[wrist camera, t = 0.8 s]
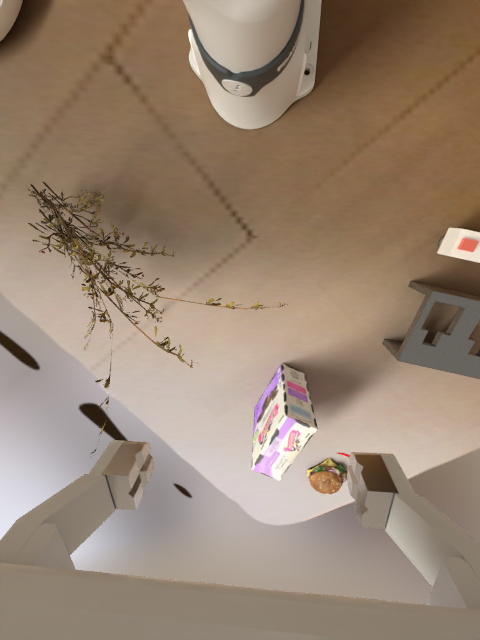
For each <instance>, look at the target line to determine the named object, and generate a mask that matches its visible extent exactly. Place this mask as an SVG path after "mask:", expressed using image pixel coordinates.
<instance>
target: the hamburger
mask: <svg viewBox="0 0 480 640" xmlns="http://www.w3.org/2000/svg"><path fill="white" fill-rule="evenodd" d="M338 454H342V455H345V456H347V457H349V458H350V455H348V454H345V453H338ZM329 460H330V461H329ZM327 461H328V462H329V463H327ZM346 474H347V471H346V472H345V469H344V467H343V466H341V465H338V466H337V465H336V464H335V463H334V462H332V460H331V459H330V458H328V459H327V460H325V461H324V462H323V463H322V464H320V465H318V466H316V467H314V468H313V469H311V470H307V476H308V478H309V479H310V483H311V486H312V487H313V488H314V489H315V490H316V491H318V492H320V493H324V494H332V493H335V492H337V491H338V490H339V488H340V487H341V486H342V483H343V482H345V480H346ZM344 476H345V477H344Z"/></svg>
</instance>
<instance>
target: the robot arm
mask: <svg viewBox="0 0 480 640" xmlns="http://www.w3.org/2000/svg"><path fill="white" fill-rule="evenodd" d="M183 2H184V4H185V6H186V8H187V10H188V12H189V20H190V25H191V29H190V30H189V40H190V44H191V49H190V53H189V61H190V65H191V67H192V69H193V71H194V72H195V73H196V75H197V76H198V77H199V78H200V79H201V80H202V81H203V83H204V85H205V88H206V91H207V94H208V96H209V99H210V101H211V103H212V105H213V107H214V108H215V110H216V111H217V112H218V114H219V115H220V116H221V117H222V118H223V119H224V120H226V121H227V122H228V123H230V124H232V125H234V126H236V127H239V128H243V129H258V128H262V127H265V126H267V125H269V124H271V123H273V122H274V121H275V120H277V119H278V118H279V117H280V116H281V115H282V114H283V113H284V112H285V111H286V110H287V109H288V107H289V106H290V105H291V104H292V103H293V102H294V101H296V100H298V99H300V98H302V97H304V96H306V95H307V94H309V93H310V92H311V91H312V89H313V87H314V83H315V73H316V62H317V50H318V38H319V27H320V15H321V3H322V0H183ZM306 70H308V71H309V72H310V74H309V75H305V73H304V72H305V71H306ZM150 450H151V448H150V444H149V443H146V442H133V441H117V440H113V441H112V442H111V443H110V444H109V445H108V447H107V448H106V450H105V451H104V452H103V454H102V455H101V457H100V458H99V460H98V461H97V463H96V464H95V466H94V467H93V469H92V470H91V471H90V473H89V474H85V475H83V476H82V477H80V478H79V479H77V480H76V481H74V482H73V483H71V484H70V485H68V486H67V487H65V488H64V489H62V490H61V491H59V492H58V493H56V494H55V495H53V496H52V497H51V498H49V499H47V500H46V501H44V502H43V503H42V504H40V505H39V506H37V507H35V508H34V509H32V510H31V511H29V512H28V513H27V514H25V515H24V516H22V517H21V518H19V519H18V520H17V521H16V522H15V523H14V524H13V526H12V527H11V528H10V529H9V531H8V532H7V533H6V534H5V536H4V537H3V538H2V539H1V540H0V640H480V544H479V543H478V542H477V541H476V540H475V539H473V538H472V537H471V536H470V535H468V534H467V533H466V532H465V531H463V530H462V529H461V528H460V527H459V526H457V525H456V524H455V523H454V522H452V521H451V520H450V519H448V517H446V516H445V515H444V514H442V513H441V512H440V511H439V510H438V509H437V508H435V507H434V506H433V505H432V504H430V503H429V502H428V501H427V500H426V499H424V498H423V497H422V496H421V495H416V494H415V493H414V491H413V489H412V487H411V485H410V483H409V481H408V479H407V478H406V476H405V474H404V472H403V470H402V468H401V467H400V465H399V463H398V461H397V459H396V457H395V456H394V455H393V454H380V453H379V454H377V453H357V452H351V454H350V458H349V460H350V463H351V466H350V467H349V468H348V471H347V481H348V487H349V491H350V494H351V496H352V497H353V498H354V499H355V500H356V501H355V507H354V508H355V511H356V514H357V517H358V520H359V524H360V527H368V528H379V529H386V530H385V531H386V532H387V533H388V534H389V536H390V537H391V538H392V539H393V540H394V541H395V543H396V544H397V545H398V546H399V547H400V549H401V550H402V551H403V552H404V553H405V554H406V556H407V557H408V558H409V559H410V560H411V562H412V563H413V564H414V565H415V566H416V568H417V569H418V570H419V571H420V572H421V574H422V575H423V576H424V577H425V578H426V580H427V581H428V582H429V583H430V584H431V586H432V590H431V592H430V595H429V597H428V600H427V602H426V604H415V603H406V602H395V601H385V600H375V599H365V598H354V597H344V596H335V595H325V594H315V593H304V592H295V591H284V590H274V589H264V588H254V587H244V586H234V585H224V584H213V583H202V582H193V581H182V580H173V579H162V578H153V577H142V576H132V575H122V574H111V573H102V572H92V571H82V570H75V567H74V564H73V562H72V560H71V557H70V555H71V554H72V553H73V552H74V551H75V550H76V549H77V548H78V547H79V546H80V545H81V544H82V543H83V542H84V541H85V540H86V539H87V538H88V537H89V536H90V535H91V534H92V533H93V532H94V531H95V530H96V529H97V528H98V527H99V526H100V525H101V524H102V523H103V522H104V521H105V520H106V519H107V518H108V517H109V516H110V515H111V514H112V513H113V512H114V511H115V509H124V510H125V509H126V510H137V508H138V506H139V503H140V501H141V499H142V497H143V494H144V492H143V487H144V486H145V485H146V484H147V483H149V480H150V478H151V476H152V471H153V458H152V456H151V455H150V454H149V452H150Z"/></svg>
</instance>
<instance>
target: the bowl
mask: <svg viewBox="0 0 480 640" xmlns="http://www.w3.org/2000/svg"><path fill="white" fill-rule="evenodd" d="M22 2H23V0H0V41H1V40H2V39H3V38H4V37H5V36H6V35H7V33H8V32H9V31H10V29H11V27H12V26H13V24H14V22H15V20H16V18H17V16H18V13H19V11H20V8H21V5H22Z"/></svg>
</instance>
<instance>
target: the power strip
mask: <svg viewBox="0 0 480 640" xmlns="http://www.w3.org/2000/svg"><path fill="white" fill-rule="evenodd" d="M438 248H439V250H438V252H437V254H442V255H446V256H451V257H456V258H460V259H465V260H469V261H474V262H478V263H480V232H475V231H471V230H466V229H460V228H449V229H448V231H447V233H446V234H445V235H444V236H443V237H442V238H441V239H440V241H439V243H438Z"/></svg>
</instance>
